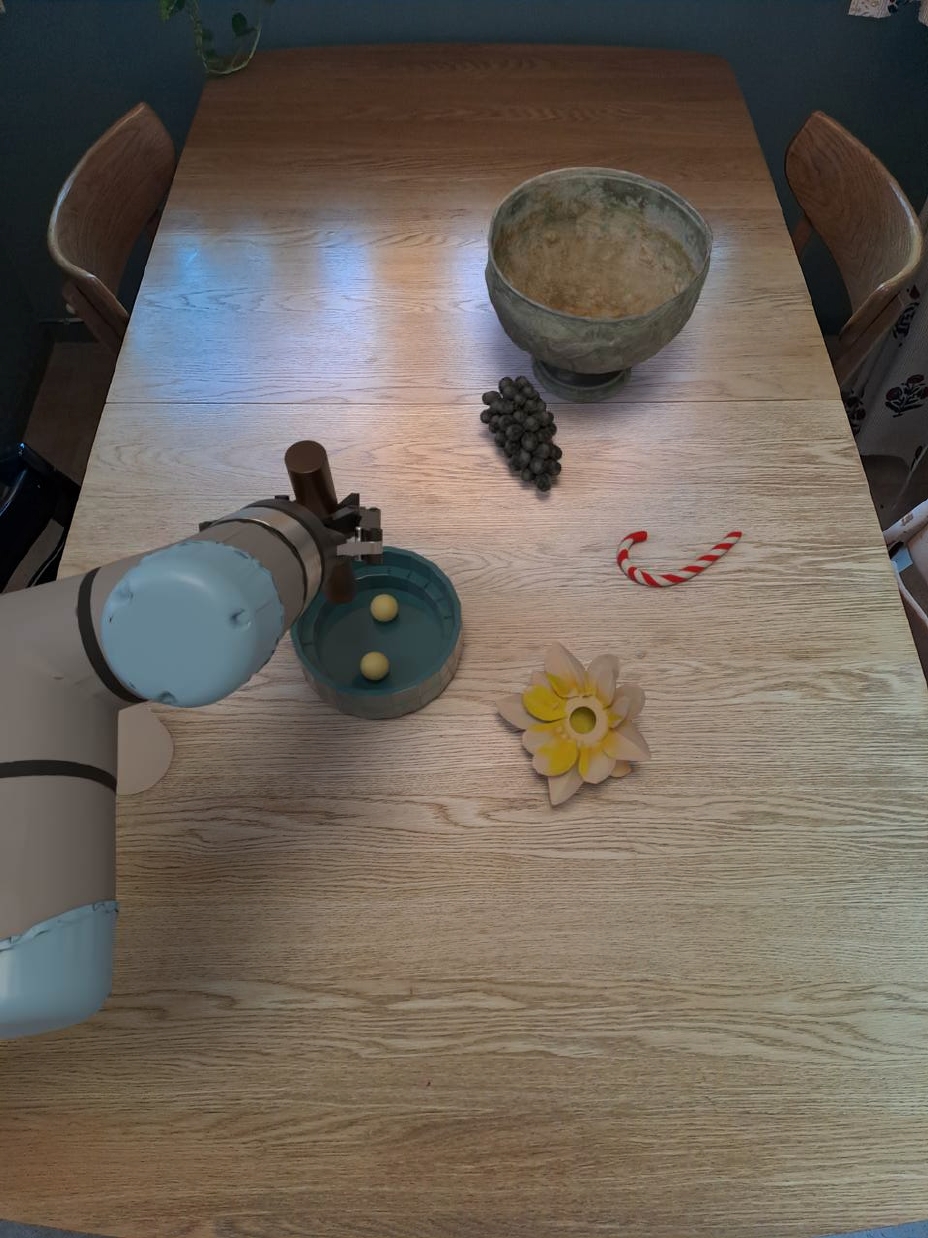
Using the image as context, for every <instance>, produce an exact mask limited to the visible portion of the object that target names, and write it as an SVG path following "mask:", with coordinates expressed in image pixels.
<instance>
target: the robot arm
mask: <svg viewBox="0 0 928 1238" xmlns="http://www.w3.org/2000/svg"><path fill="white" fill-rule="evenodd" d="M290 497H291V496H290V495H288V494H276V495H274V497H273V498H264V499H259V500H257V501H253V502H251V503H249V504H247V505H246V506H244V507H242V508H240V509H237V510H236V511H233V512H232V513H230V514H228V515H227V514H226V515H225V516H222V517H220V518H217V519H213V520H206V521H203V522H200V523H199V522H198V532H197V533H195V534H192V535H191V536H188V537H186V538H184V539H181V540H178V541H175V542H173V543H169V544H166V545H164V546H161V547H157V548H153V549H150V550H147V551H143V552H140V553H137V554H133V555H130V556H127V557H123V558H120V559H117V560H114V561H112V562H108V563H106V564H103V565H101V566H98V567H95V568H93V569H91V570H89V571H86V572H84V573H79V574H76V575H72V576H67V577H64V578H62V579H57V580H52V581H50V582H45V583H41V584H38V585H33V586H30V587H27V588H26V587H25V588H23V589H19V590H15V591H12V592H11V591H9V592H5V593H0V1041H2V1040H11V1039H17V1038H23V1037H24V1038H25V1037H29V1036H35V1035H40V1034H45V1033H50V1032H55V1031H57V1030H62V1029H66V1028H69V1027H73V1026H75V1025H79V1024H80V1023H83V1022H85V1021H87V1020H89V1019H90V1018H92V1017H93V1016H95V1015H96V1014H97V1013H99V1011H100V1010H101V1008H102V1007H103V1006H104V1005H105V1004H106V1002H107V1000H108V999H109V997H110V996H111V995H112V989H113V978H114V961H115V945H116V944H115V943H116V926H117V917H118V916H119V915H120V910H121V909H120V906H121V905H120V902H118V901H117V794H116V787H117V779H118V715H119V711H120V710H122V709H125V708H128V707H131V706H134V705H137V704H140V703H143V702H144V703H147V702H152V703H155V704H162V705H166V706H170V707H173V708H174V707H175V708H179V709H181V708H182V709H195V708H202V707H206V706H211V705H213V704H216V703H218V702H220V701H222V700H223V699H226V698H228V697H229V696H231V695H232V694H234V692H236V691H237V690H238V689H240V688H241V687H242V686H244V685H245V684H247V683H248V682H250V680H251V679H252V677H253V676H254V675H256V674H258V673H260V672H261V671H262V669H263V668H264V666H266V665H267V664H268V663H269V661H270V660H271V658H272V657H273V656H274V654H275V652H276V651H277V650H276V649H277V648H278V646H279V643H280V642H281V640H282V639H283V638H284V636H285V635H286V634H287V632H288V630H289V631H290V628H291V627H292V626H293V624H294V623H295V622H296V621H297V620H298V618H299V617H300V616H301V615H302V613H303V612H304V611H305V610H306V608H307V607H308V606H309V605H310V604H311V603H312V601H313V600H314V599H315V598H316V596H317V595H318V594H319V593H320V592H321V590H322V589H323V588H324V586H325V585H326V583H327V581H328V579H329V577H330V575H331V573H332V570H333V568H334V566H337V565H341V564H343V563H344V562H345V561H346V559H347V555H355V560H356V561H364V562H365V563H367V564H370V565H377V564H382V553H383V546H384V545H383V538H384V537H383V534H384V533H383V531H384V530H383V528H382V516H381V515H382V509H380V508H378V507H376V506H375V507H374V506H372V507H371V506H370V508H367V507H366V506H362V505H361V504H360V503H361V501H360V500H361V498H360V497H361V494H360V492H359V493H358V492H351V493H349V494H348V495H347V496H345V498H343V499H342V500H341V501H339V502H338V511H336V512H334V513H332V514H329V515H321V514H313V513H312V512H311V511H309V510H308V509H307V508H305V507H303V506H302V505H300V504H297V501H296V498H295V499H294V500H290V499H291V498H290Z"/></svg>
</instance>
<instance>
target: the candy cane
mask: <svg viewBox="0 0 928 1238" xmlns="http://www.w3.org/2000/svg"><path fill="white" fill-rule="evenodd" d="M742 536H743V533H742V530H740V529H739V528H734V529H732V530H731V531H730V532H729V533H728V534H727V535H725V537H723V539H721V540H720V541H719V542H718V543H716V544H715V546H713V547H712V548H711V549H709V550H708V551H707V552H705V553H704V554H703V555H702V556H700V557H699V558H697V559H696V560H694V561H692V563H690V564H689V565H687V566H685V567H683V568H681V569H678V570H677V571H673V572H671V573H667V574H651V573H648V572H645V571H643V570H640V569H639V568H638V567H636V566H635V565H634V564H633V563H632V561H631V559H630V557H629V550H630V548H631V546H632V545H633V544H635V543H637V542H642V541H643V542H644V541H646V540H647V539H648V532H647V531H646V530H639V531H635V532H632V533H630V534H628V535H626V536H625V537H624V538H623V539H622V540H621V542H620V543H619V545H618V548H617V555H616V556H617V557H616V559H617V561H618V564H619V566H620V568H621V570H622V571H623V572H624V573H625V574H626V575H627V576H628V577H629V578H631V579H632V580H633V581H635V582H636V583H638V584H642V585H645V586H649V587H667V586H673V585H676V584H679V583H682V582H684V581H686V580H688V579H690V578H692V577H694V576H696V575H697V574H699V573H700V572H701V571H704V570H705V569H707V567H709V566H710V565H712V564H713V563H714V562H715V561H717V560H718V559H719V558H720V557H722V556H723V555H724V554H725V553H726V552H727V551H729V550H730V549H731V548H732V546H734V545H735V544H736V543H737V542H738V541H739V540H740V539H741V538H742Z"/></svg>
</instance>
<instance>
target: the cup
mask: <svg viewBox="0 0 928 1238" xmlns="http://www.w3.org/2000/svg"><path fill="white" fill-rule="evenodd" d="M172 737H173V736H172V735H171V733H170V732H169V730H168V729H167V728H166V726H165V725H164V724H163V723H162V722H161V720H160V719H159V718H158V717H157V716H156V715H155V714H154V713H153V711H152V710H151V709H150V707H148V706H147V705H146V704H145V702H143V703H140V704H137V705H134V706H131V707H128V708H125V709H122V710H120V711H119V715H118V779H117V787H116V795H120V796H130V795H136V794H140V793H143V792H144V791H147V790H149V789H150V788H152V787H154V786H155V785H157V783H159V782H160V781H161V780H162V778H164V776H165V775H166V774H167V772H168V770H169V768H170V767H171V765H172V761H173V759H174V758H173V757H174V753H175V749H174V748H175V747H174V741H173V738H172Z"/></svg>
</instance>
